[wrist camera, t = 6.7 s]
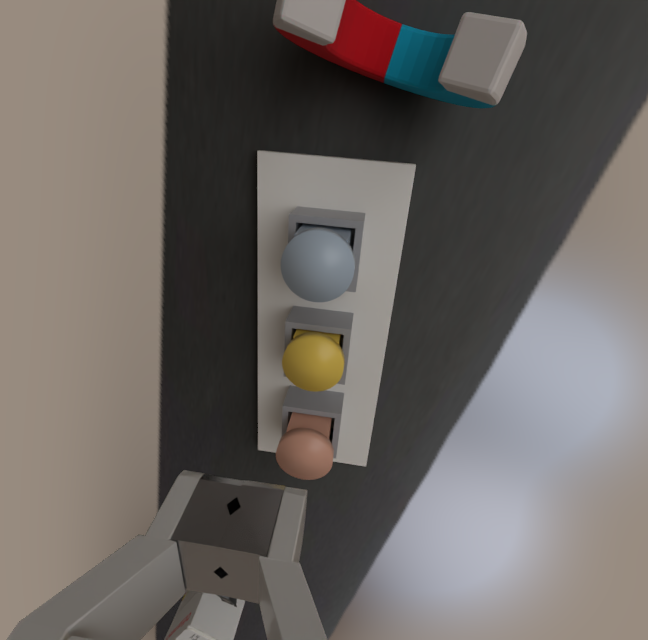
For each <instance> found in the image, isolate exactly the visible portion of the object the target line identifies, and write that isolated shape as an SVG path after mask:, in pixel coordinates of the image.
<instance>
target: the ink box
mask: <svg viewBox="0 0 648 640" xmlns="http://www.w3.org/2000/svg"><path fill="white" fill-rule="evenodd" d="M244 603H245V600H240V599H236V598H231V597H226V596H221V595H215V594H208V593H202V592H195V591H189V590H187V591H186V593H185V595H184V597H183V600H182V602H181V604H180V606H179V608H178V611H177V613H176V615H175V617H174V620H173V622H172V624H171V626H170V628H169V631H168V633H167V635H166V637H165V639H164V640H233V639H234V636H235V632H236V629H237V626H238V622H239V619H240V616H241V612H242V609H243V606H244Z"/></svg>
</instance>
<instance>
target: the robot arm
mask: <svg viewBox="0 0 648 640" xmlns="http://www.w3.org/2000/svg"><path fill="white" fill-rule="evenodd" d="M306 504H307V490H303V489H297V488H290V487H286V486H281V485H274V484H267V483H260V482H254V481H247V480H245V481H242V480H237V479H231V478H226V477H220V476H215V475H209V474H205V473H199V472H192V471H186V470H183V471H182V472H181V473H180V475H179V476H178V477H177V479H176V480H175V482H174V484H173V486H172V488H171V489H170V491H169V493H168V495H167V497H166V498H165V500H164V502H163V504H162V506H161V508H160V509H159V511H158V513H157V515H156V517H155V518H154V520H153V522H152V524H151V526H150V527H149V529H148V531H147V533H146V535H145V536H144V535H137V536H136V537H135V538H133V539H132V540H131V541H129V542H128V543H126V544H125V545H124V546H122V547H121V548H120V549H118V550H117V551H115V552H114V553H113V554H111V555H110V556H109V557H107V558H106V559H105V560H103V561H102V562H100V563H99V564H98V565H96V566H95V567H94V568H92V569H91V570H89V571H88V572H87V573H85V574H84V575H83V576H81V577H80V578H78V579H77V580H76V581H74V582H73V583H72V584H70V585H69V586H67V587H66V588H65V589H63V590H62V591H61V592H59V593H58V594H56V595H55V596H54V597H52V598H51V599H50V600H48V601H47V602H46V603H44V604H43V605H42V606H40V607H39V608H37V609H36V610H34V611H33V612H32V613H30V614H29V615H28V616H26V617H25V618H24V619H22V620H21V621H19V623H18V624H17V625H16V627H15V628H14V630H13V631H12V633H11V634H10V635H9V637H8V638H7V640H141V639H142V638H143V637H144V635H145V634H146V633H147V632H148V631H149V630H150V629H151V628H152V627H153V626H154V625H155V624H156V623H157V622H158V621H159V620H160V619H161V618H162V617H163V616H164V615H165V614H166V613H167V612H168V611H169V610H170V608H171V607H172V606H173V605H174V604H175V603H176V602H177V601H178V600H179V599H180V598H181V597H182V596H183V595H184V594H185V590H189V591H195V592H202V593H208V594H215V595H221V596H226V597H231V598H236V599H240V600H245V601H249V602H254V603H259V604H260V609H261V613H262V618H263V622H264V626H265V631H266V635H267V640H327V638H326V635H325V632H324V629H323V626H322V624H321V621H320V618H319V615H318V613H317V610H316V607H315V604H314V601H313V599H312V596H311V593H310V590H309V587H308V585H307V582H306V579H305V576H304V574H303V571H302V568H301V565H300V563H299V558H300V553H301V547H302V540H303V533H304V525H305V515H306Z"/></svg>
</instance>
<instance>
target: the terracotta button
mask: <svg viewBox="0 0 648 640" xmlns="http://www.w3.org/2000/svg"><path fill="white" fill-rule="evenodd" d="M331 423H332V418H330V417H323V416H316V415H309V414H303V413H296V412H292V415H291V418H290V421H289V424H288V427H287V431H286V433H285V434H284V435H283V436H282V437H281V439H280V441H279V444H278V447H277V451H276V459H277V462H278V464H279V466H280V467H281V468H282V469H283V470H284V471H285V472H286V473H288V474H289V475H291V476H293V477H296V478H299V479H305V480H313V479H318V478H320V477H323V476H324V475H326V474H327V473H328V472H329V471H330V469H331V467H332V463H333V456H334V448H333V445H332V443H331V442H330V432H331Z"/></svg>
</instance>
